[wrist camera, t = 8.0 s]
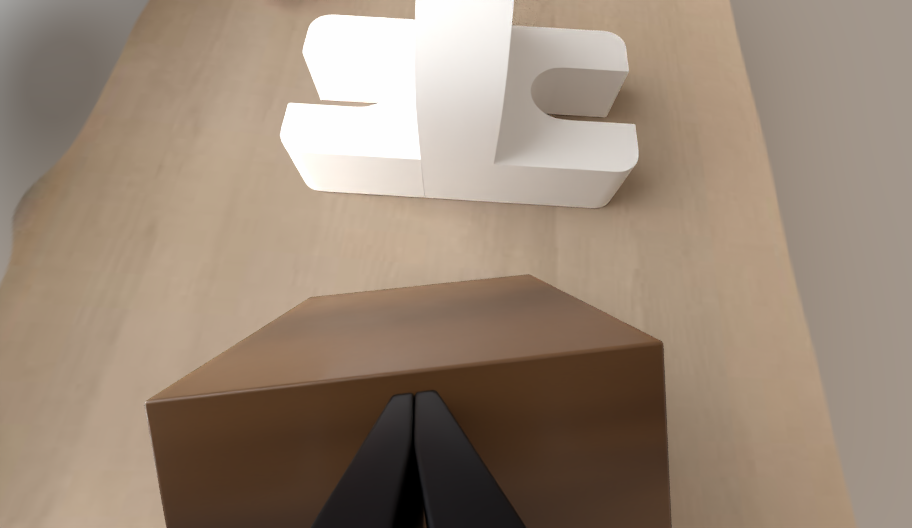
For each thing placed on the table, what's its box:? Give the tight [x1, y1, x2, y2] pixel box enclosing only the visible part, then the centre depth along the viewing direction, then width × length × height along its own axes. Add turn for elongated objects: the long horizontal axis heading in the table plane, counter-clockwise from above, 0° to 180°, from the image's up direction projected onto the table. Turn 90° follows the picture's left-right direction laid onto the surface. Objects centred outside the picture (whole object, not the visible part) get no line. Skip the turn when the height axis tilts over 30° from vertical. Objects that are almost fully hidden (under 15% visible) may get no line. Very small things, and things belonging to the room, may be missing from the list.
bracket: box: [280, 0, 639, 208], centre depth 22 cm, size 19×10×11 cm, turn 86°
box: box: [145, 274, 672, 528], centre depth 14 cm, size 11×10×8 cm
